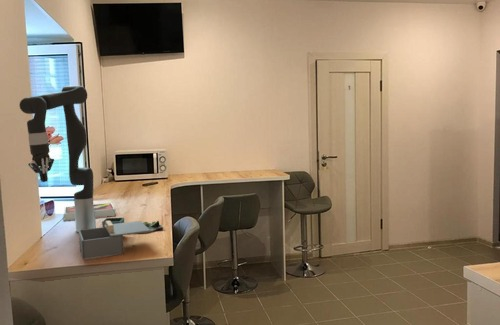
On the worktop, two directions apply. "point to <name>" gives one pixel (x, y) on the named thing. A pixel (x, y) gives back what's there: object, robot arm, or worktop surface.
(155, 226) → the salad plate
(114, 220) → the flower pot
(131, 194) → the worktop surface
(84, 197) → the robot arm
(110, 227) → the lid
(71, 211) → the product packaging
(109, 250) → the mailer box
